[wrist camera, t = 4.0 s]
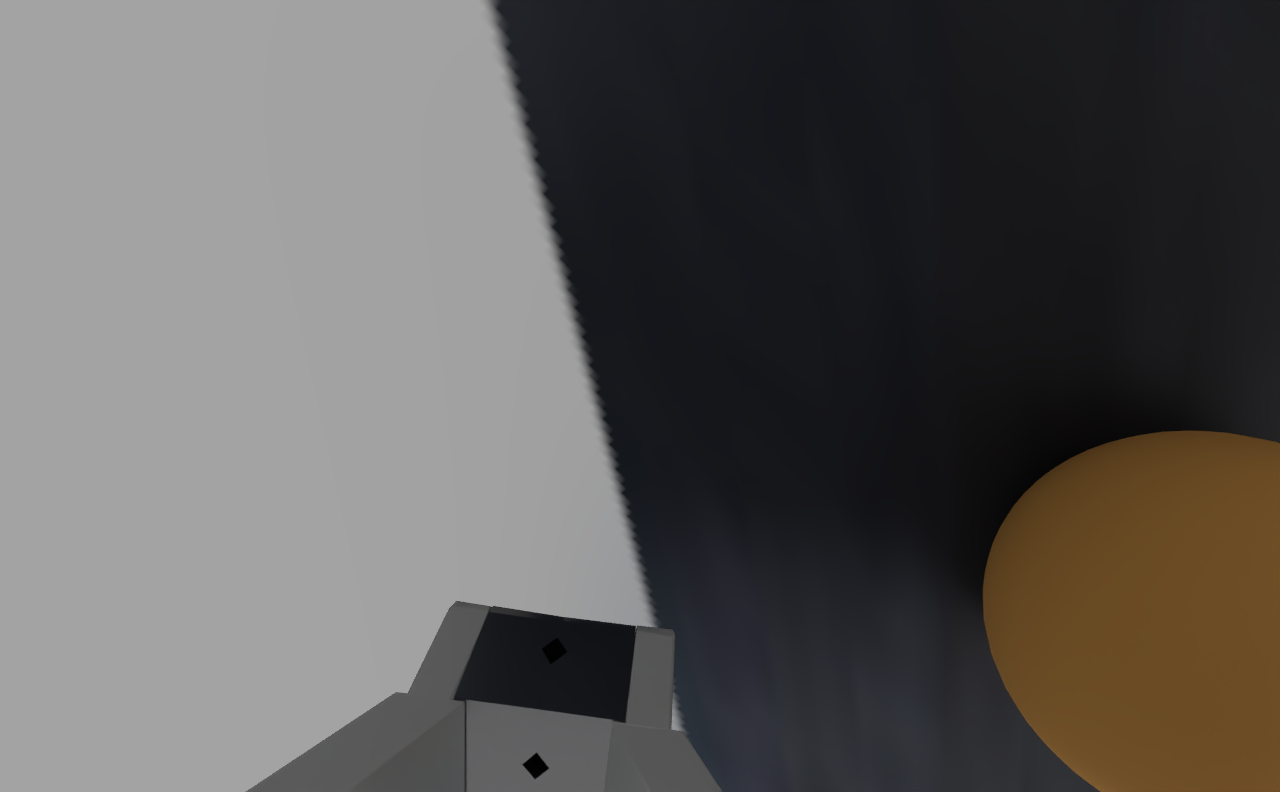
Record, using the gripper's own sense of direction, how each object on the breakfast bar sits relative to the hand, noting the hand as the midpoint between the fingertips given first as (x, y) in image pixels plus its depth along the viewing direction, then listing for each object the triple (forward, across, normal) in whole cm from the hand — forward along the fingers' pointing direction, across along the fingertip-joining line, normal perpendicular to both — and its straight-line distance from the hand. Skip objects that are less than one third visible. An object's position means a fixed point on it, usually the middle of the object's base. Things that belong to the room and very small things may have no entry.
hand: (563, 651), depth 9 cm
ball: (+2, -10, 0) cm, 10 cm away
